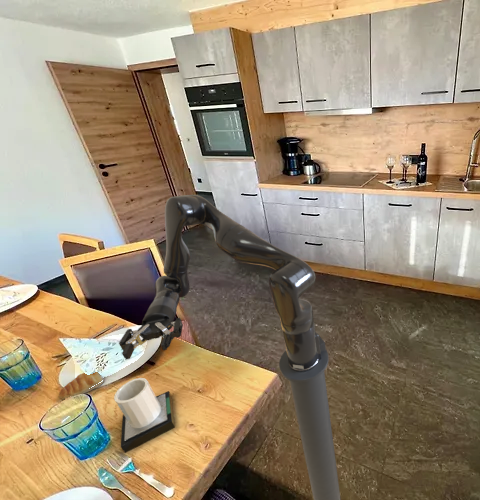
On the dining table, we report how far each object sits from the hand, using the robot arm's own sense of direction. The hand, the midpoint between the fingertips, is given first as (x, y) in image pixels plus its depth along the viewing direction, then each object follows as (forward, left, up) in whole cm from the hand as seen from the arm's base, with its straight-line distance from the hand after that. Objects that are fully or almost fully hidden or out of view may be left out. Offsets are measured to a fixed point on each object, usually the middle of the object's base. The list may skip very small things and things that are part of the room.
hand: (145, 352), depth 74 cm
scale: (+3, +11, -13) cm, 17 cm away
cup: (+3, +11, -10) cm, 15 cm away
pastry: (+18, -12, -13) cm, 25 cm away
